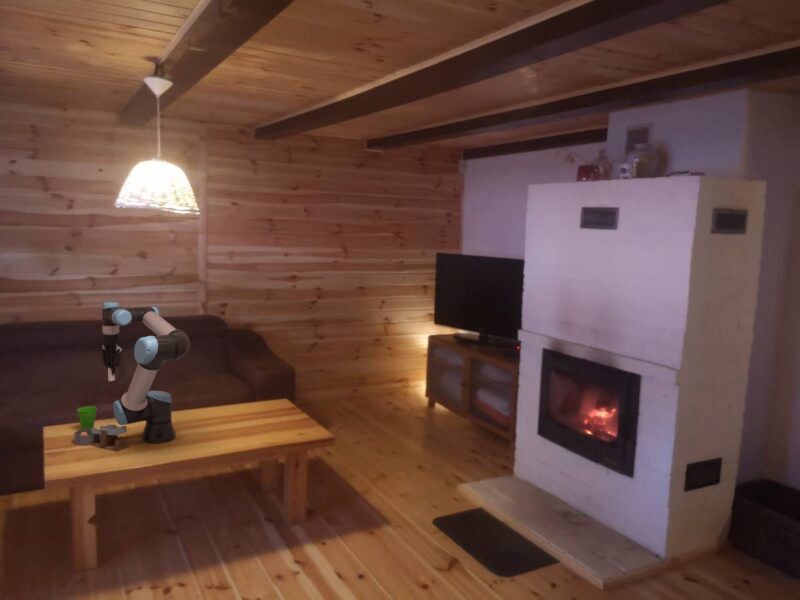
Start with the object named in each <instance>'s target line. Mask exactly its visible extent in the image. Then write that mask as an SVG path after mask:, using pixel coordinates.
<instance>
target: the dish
mask: <svg viewBox="0 0 800 600" xmlns="http://www.w3.org/2000/svg"><path fill="white" fill-rule="evenodd" d="M91 429H97V428H95V427H94V428H87V429H81V428H80V429H79V430H76V431H74V432H73V443H74V444H75V445H77V446H91V444H93V443H95V442H98V441H101V434H92V430H91ZM82 432H86V433H87V434H88V436H80V434H81V433H82Z"/></svg>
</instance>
